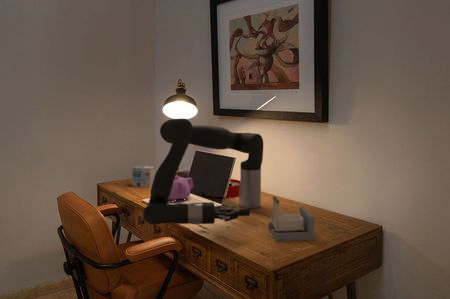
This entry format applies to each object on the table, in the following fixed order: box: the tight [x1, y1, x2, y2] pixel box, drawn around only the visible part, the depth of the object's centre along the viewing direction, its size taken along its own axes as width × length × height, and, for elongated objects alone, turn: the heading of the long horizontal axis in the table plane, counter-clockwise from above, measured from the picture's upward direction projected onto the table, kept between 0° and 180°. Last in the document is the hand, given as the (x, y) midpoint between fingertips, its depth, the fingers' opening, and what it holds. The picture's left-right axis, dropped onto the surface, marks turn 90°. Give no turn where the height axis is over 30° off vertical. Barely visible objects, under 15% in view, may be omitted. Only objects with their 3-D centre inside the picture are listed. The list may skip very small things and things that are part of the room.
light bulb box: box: [131, 165, 155, 188], centre depth 223 cm, size 11×7×11 cm, turn 81°
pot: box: [168, 174, 194, 201], centre depth 193 cm, size 18×17×12 cm
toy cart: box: [272, 195, 305, 233], centre depth 144 cm, size 7×10×13 cm
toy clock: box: [225, 178, 240, 199], centre depth 205 cm, size 20×6×20 cm
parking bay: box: [267, 206, 315, 242], centre depth 145 cm, size 13×14×8 cm
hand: (249, 212), depth 143 cm, fingers closed
